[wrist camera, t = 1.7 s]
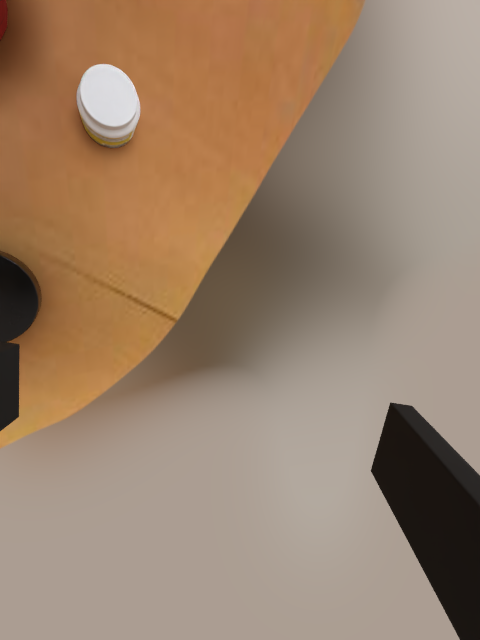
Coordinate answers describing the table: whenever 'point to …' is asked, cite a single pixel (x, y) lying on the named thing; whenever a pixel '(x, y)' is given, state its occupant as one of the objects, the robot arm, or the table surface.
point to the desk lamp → (17, 297)
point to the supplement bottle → (108, 105)
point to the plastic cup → (3, 17)
